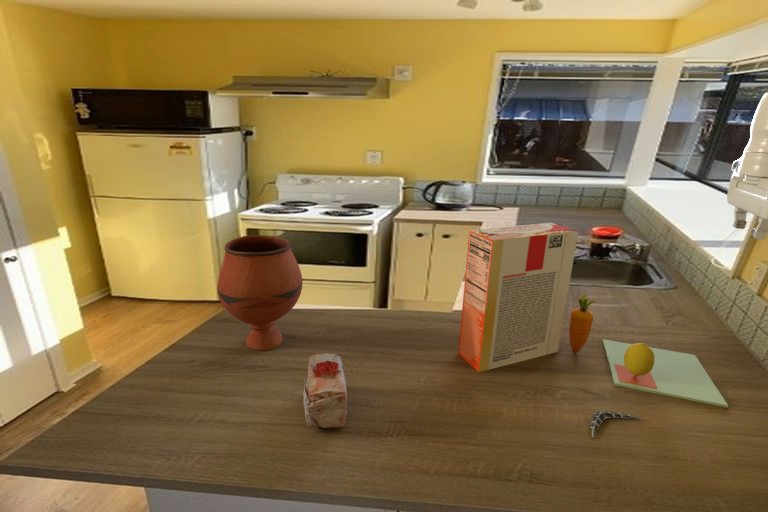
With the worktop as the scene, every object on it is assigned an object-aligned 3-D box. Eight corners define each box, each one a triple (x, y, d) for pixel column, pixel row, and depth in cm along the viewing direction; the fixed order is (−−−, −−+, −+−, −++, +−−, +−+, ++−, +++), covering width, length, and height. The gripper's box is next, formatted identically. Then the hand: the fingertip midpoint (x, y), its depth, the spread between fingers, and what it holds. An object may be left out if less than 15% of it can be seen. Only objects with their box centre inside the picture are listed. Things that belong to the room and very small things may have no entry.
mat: (694, 357, 101) (695, 354, 101) (727, 408, 83) (728, 405, 83) (602, 341, 107) (602, 338, 107) (614, 385, 89) (615, 382, 89)
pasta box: (533, 336, 109) (550, 222, 99) (557, 351, 102) (578, 230, 92) (458, 354, 100) (469, 230, 90) (478, 372, 93) (493, 240, 83)
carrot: (568, 345, 105) (579, 289, 100) (589, 353, 101) (601, 295, 97) (560, 352, 101) (570, 295, 97) (581, 361, 98) (592, 301, 93)
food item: (351, 432, 74) (351, 383, 71) (304, 437, 72) (302, 388, 69) (342, 385, 87) (342, 342, 84) (303, 389, 85) (301, 346, 82)
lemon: (622, 365, 95) (629, 334, 93) (650, 374, 92) (659, 341, 90) (618, 377, 91) (626, 344, 89) (648, 386, 88) (657, 352, 85)
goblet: (256, 373, 90) (248, 262, 82) (206, 344, 101) (194, 243, 93) (321, 339, 104) (319, 242, 97) (271, 316, 115) (265, 227, 108)
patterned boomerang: (620, 401, 83) (644, 418, 79) (620, 404, 83) (643, 421, 79) (572, 416, 78) (594, 436, 74) (571, 420, 78) (593, 439, 74)
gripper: (817, 174, 76) (791, 247, 80) (763, 163, 94) (745, 224, 98) (773, 171, 78) (751, 244, 82) (729, 162, 96) (713, 221, 100)
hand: (747, 233), depth 90 cm, fingers open, 8 cm apart
